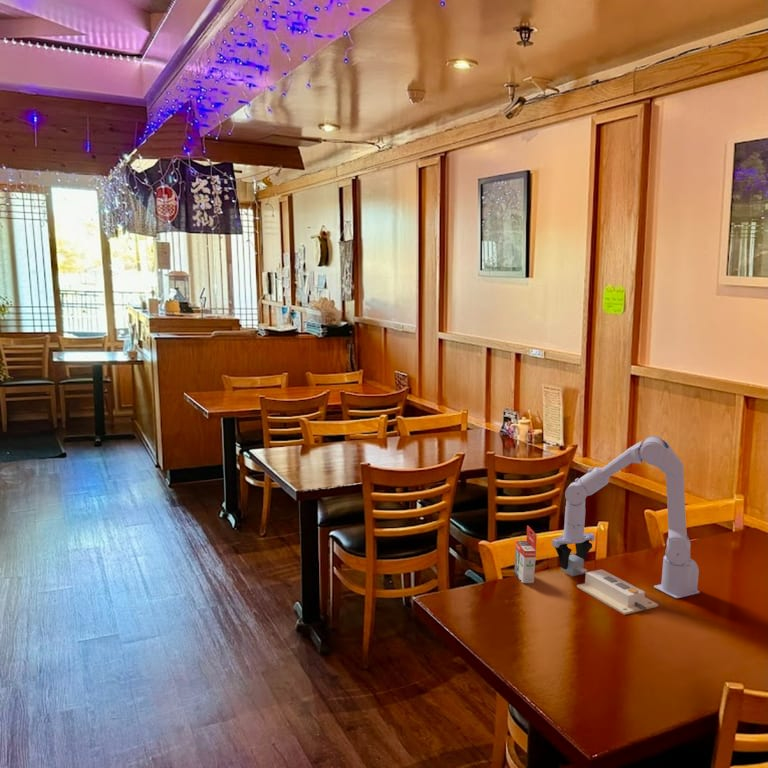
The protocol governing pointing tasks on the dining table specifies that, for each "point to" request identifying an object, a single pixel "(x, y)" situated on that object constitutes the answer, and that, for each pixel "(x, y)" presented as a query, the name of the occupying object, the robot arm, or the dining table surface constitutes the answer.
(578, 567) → the charger plug
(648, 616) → the dining table surface
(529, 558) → the ink box
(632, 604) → the power strip
